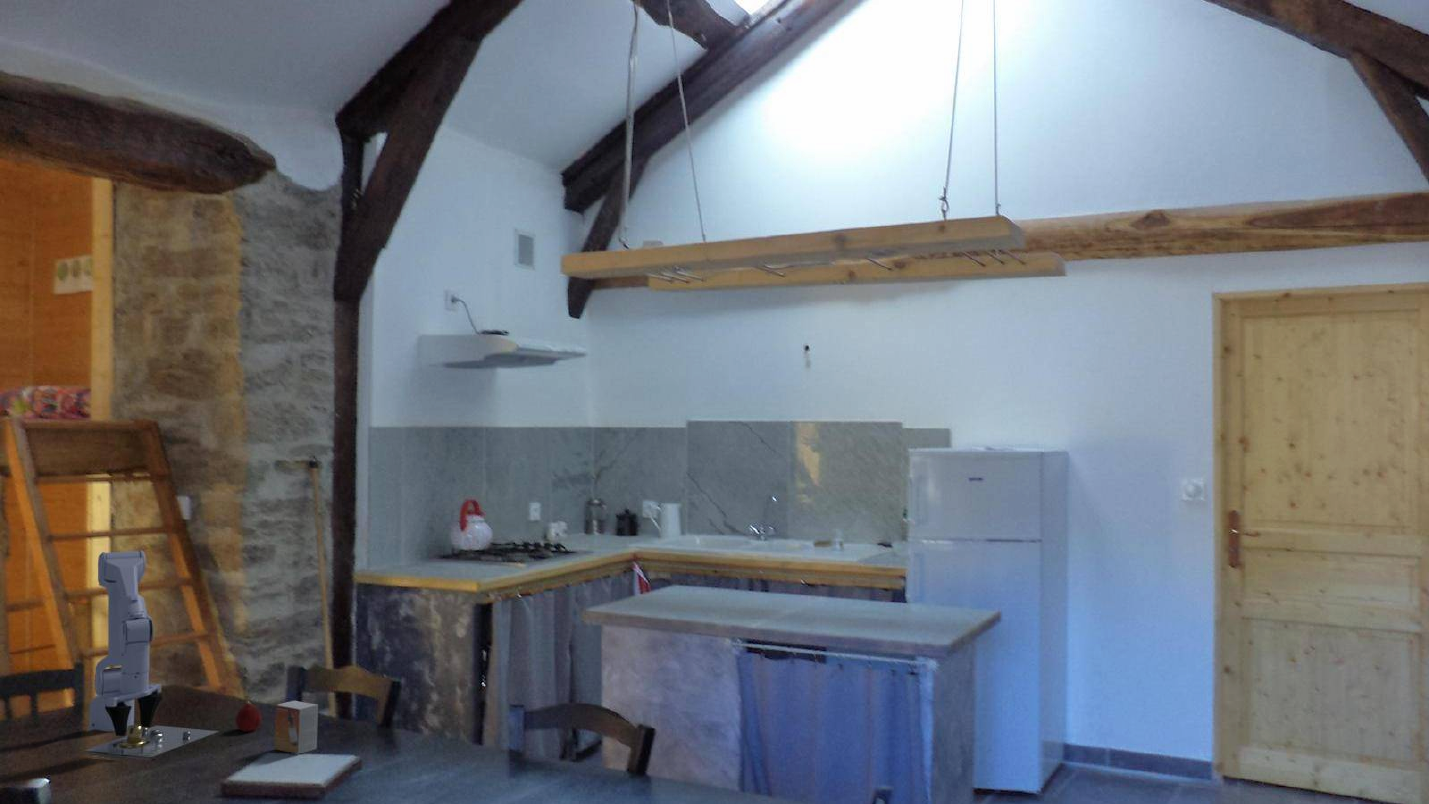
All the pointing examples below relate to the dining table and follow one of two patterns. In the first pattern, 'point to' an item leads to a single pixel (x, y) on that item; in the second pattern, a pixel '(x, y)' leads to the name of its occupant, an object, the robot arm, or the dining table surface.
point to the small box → (296, 727)
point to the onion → (248, 718)
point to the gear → (134, 737)
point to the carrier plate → (152, 742)
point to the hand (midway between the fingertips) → (133, 731)
